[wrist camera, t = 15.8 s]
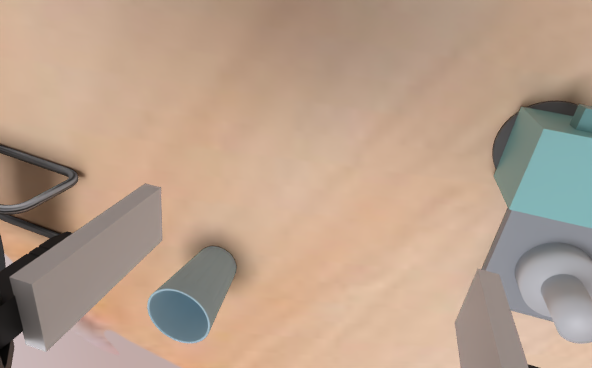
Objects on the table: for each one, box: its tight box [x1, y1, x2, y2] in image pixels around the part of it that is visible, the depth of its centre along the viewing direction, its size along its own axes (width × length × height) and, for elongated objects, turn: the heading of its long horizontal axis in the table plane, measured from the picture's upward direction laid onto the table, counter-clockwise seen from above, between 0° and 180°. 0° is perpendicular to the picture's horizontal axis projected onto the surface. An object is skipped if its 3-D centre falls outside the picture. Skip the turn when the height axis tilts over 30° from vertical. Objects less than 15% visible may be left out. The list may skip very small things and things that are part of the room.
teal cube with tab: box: [494, 104, 592, 228], centre depth 33 cm, size 9×7×7 cm
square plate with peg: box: [481, 209, 592, 343], centre depth 38 cm, size 12×12×9 cm
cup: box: [148, 246, 236, 343], centre depth 49 cm, size 8×8×10 cm
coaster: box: [493, 101, 578, 169], centre depth 37 cm, size 9×9×1 cm
